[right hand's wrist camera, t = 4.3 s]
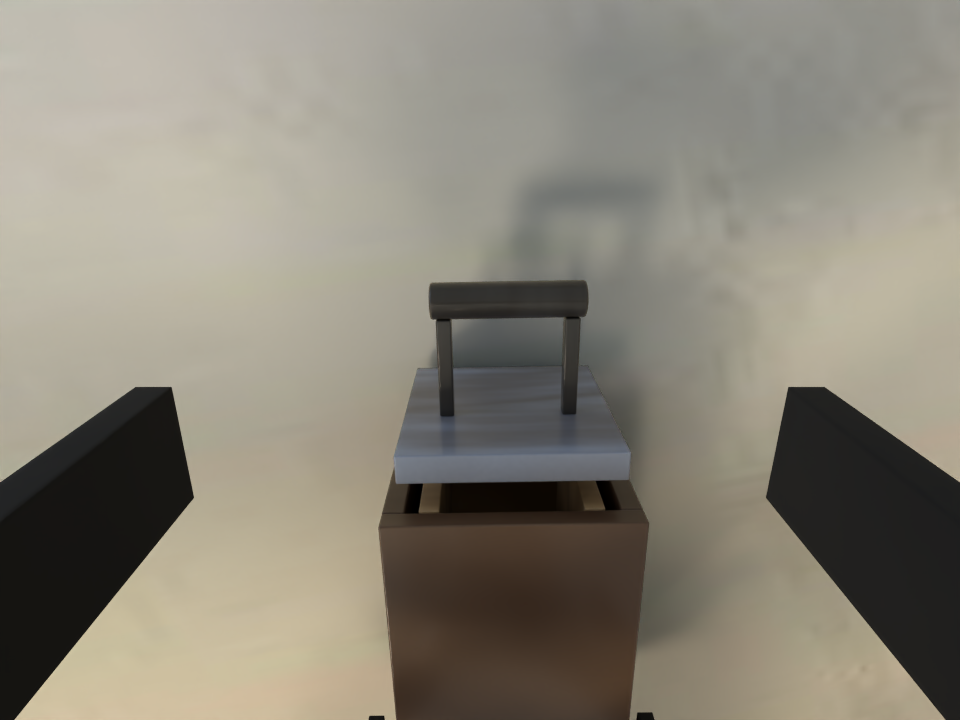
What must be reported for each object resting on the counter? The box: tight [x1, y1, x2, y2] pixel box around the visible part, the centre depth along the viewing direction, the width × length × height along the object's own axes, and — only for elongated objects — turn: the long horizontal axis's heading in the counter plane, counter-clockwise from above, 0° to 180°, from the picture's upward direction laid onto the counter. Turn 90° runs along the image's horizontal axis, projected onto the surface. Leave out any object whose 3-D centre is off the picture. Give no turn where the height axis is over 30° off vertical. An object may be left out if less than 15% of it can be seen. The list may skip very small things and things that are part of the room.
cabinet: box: [379, 468, 649, 720], centre depth 30 cm, size 20×10×11 cm, turn 1°
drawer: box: [394, 280, 631, 514], centre depth 28 cm, size 24×9×9 cm, turn 1°
